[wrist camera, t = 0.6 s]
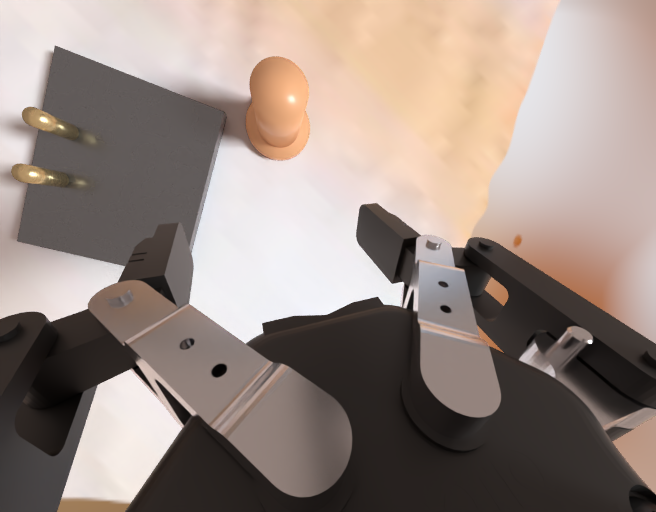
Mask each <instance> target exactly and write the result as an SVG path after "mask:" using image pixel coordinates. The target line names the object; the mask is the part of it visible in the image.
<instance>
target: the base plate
mask: <svg viewBox="0 0 656 512" xmlns="http://www.w3.org/2000/svg"><path fill="white" fill-rule="evenodd" d="M22 118H23V120H24V121H25V122H26V123H27V124H28V125H30V126H33V127H36V128H38V129H39V131H38V136H37V141H36V147H35V152H34V157H33V162H32V166H31V165H26V164H16V165H14V166H13V167H12V170H11V173H12V175H13V177H14V178H15V179H16V180H18V181H20V182H25V183H28V188H27V193H26V198H25V203H24V208H23V214H22V219H21V224H20V229H19V234H18V239H17V241H18V242H23V243H27V244H31V245H36V246H40V247H45V248H49V249H53V250H58V251H62V252H66V253H71V254H75V255H80V256H84V257H88V258H93V259H97V260H101V261H106V262H110V263H114V264H119V265H123V266H126V264H127V263H129V262H128V260H129V258H130V256H132V252H133V250H134V248H135V246H136V245H137V244H139V243H140V242H141V241H143V240H144V239H145V238H152V237H153V236H154V234H155V231H156V229H157V227H158V225H159V224H169V223H179V222H180V223H181V224H182V226H183V229H184V232H185V235H186V239H187V242H188V245H189V248H190V251H191V252H192V248H193V245H194V241H195V237H196V233H197V229H198V225H199V221H200V218H201V214H202V210H203V206H204V202H205V198H206V195H207V191H208V187H209V183H210V179H211V175H212V171H213V168H214V164H215V160H216V156H217V152H218V148H219V144H220V141H221V137H222V133H223V129H224V125H225V121H226V118H227V117H226V115H225V113H224V112H223V111H220V110H218V109H215V108H213V107H210V106H208V105H205V104H203V103H200V102H197V101H195V100H192V99H190V98H187V97H185V96H182V95H180V94H177V93H175V92H172V91H169V90H167V89H164V88H162V87H159V86H157V85H154V84H152V83H149V82H147V81H144V80H141V79H139V78H136V77H134V76H131V75H129V74H126V73H124V72H121V71H119V70H116V69H114V68H111V67H108V66H106V65H103V64H101V63H98V62H96V61H93V60H91V59H88V58H86V57H83V56H80V55H78V54H75V53H73V52H70V51H68V50H65V49H63V48H60V47H58V46H55V48H54V54H53V59H52V64H51V69H50V74H49V79H48V85H47V90H46V95H45V100H44V105H43V110H42V111H41V110H39V109H37V108H34V107H27V108H25V109H24V110H23V112H22Z"/></svg>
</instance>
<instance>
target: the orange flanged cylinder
mask: <svg viewBox="0 0 656 512" xmlns="http://www.w3.org/2000/svg"><path fill="white" fill-rule="evenodd" d="M250 92H251V97H252V103H251V104H250V106H249V108H248V111H247V114H246V129H247V133H248V136H249V139H250V141H251V143H252V144H253V146H254V147H255V148H256V150H258V151H259V152H260V153H261V154H262V155H264V156H265V157H268V158H270V159H273V160H288V159H291V158H293V157H295V156H297V155H298V154H299V153H300V152H301V151H302V150H303V149H304V147H305V145H306V143H307V141H308V138H309V133H310V124H309V119H308V116H307V113H306V111H305V109H306V106H307V102H308V98H309V87H308V83H307V80H306V77H305V75H304V73H303V72H302V70H301V69H300V68H299V67H298V66H297V65H296V64H295V63H293V62H292V61H290V60H288V59H286V58H283V57H269V58H266V59H264V60H262V61H261V62H259V63H258V64H257V65H256V66H255V68H254V69H253V71H252V74H251V77H250Z"/></svg>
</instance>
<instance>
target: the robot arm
mask: <svg viewBox="0 0 656 512" xmlns="http://www.w3.org/2000/svg"><path fill="white" fill-rule="evenodd" d="M356 237H357V241H358V244H359V245H360V246H361V247H362V249H363V250H364V251H365V252H366V253H367V255H368V256H369V257H370V258H371V259H372V260H373V262H374V263H375V264H376V265H377V266H378V268H379V269H380V270H381V271H382V272H383V274H384V275H385V276H386V277H387V278H388V279H389V281H390V282H391V283H392V284H393V283H398V282H404V284H403V288H402V295H401V305H400V307H399V306H393V305H383V303H382V302H381V300H380V299H379V298H378V297H375V298H371V299H366V300H362V301H358V302H353V303H351V304H349V305H347V306H345V307H343V308H341V309H339V310H337V311H334V312H332V313H330V314H328V315H314V316H292V317H287V318H283V319H279V320H274V321H270V322H266V323H262V325H263V332H264V333H263V334H261V335H259V336H257V337H255V338H253V339H252V340H250V341H249V342H248V343H246V344H245V343H244V342H242V341H241V340H239V339H238V338H236V337H235V336H234V335H232V334H231V333H229V332H228V331H227V330H225V329H224V328H222V327H221V326H220V325H218V324H217V323H215V322H214V321H213V320H211V319H210V318H208V317H207V316H205V315H204V314H203V313H201V312H200V311H198V310H197V309H196V308H194V307H193V306H191V305H190V304H189V299H190V291H191V284H192V276H193V259H192V255H191V251H190V248H189V245H188V242H187V239H186V235H185V232H184V229H183V226H182V224H181V223H180V222H179V223H169V224H159V225H158V227H157V229H156V231H155V234H154V236H153V237H152V238H145V239H144V240H143V241H141V242H140V243H139V244H137V245H136V246H135V248H134V250H133V252H132V256H130V258H129V260H128V262H129V263H127V264H126V266H125V269H124V271H123V273H122V275H121V277H120V279H119V281H118V283H115V284H112V285H110V286H108V287H106V288H104V289H102V290H101V291H99V292H98V293H96V294H95V295H94V296H93V297H92V298H91V299H90V301H89V303H88V309H87V310H84V311H81V312H79V313H76V314H73V315H70V316H67V317H64V318H61V319H58V320H55V321H53V322H50V321H49V320H48V319H47V317H46V316H45V315H44V314H42V313H39V312H24V313H19V314H15V315H11V316H8V317H5V318H2V319H0V512H57V510H58V506H59V504H60V500H61V497H62V494H63V491H64V488H65V485H66V482H67V479H68V476H69V472H70V469H71V466H72V463H73V460H74V457H75V454H76V451H77V448H78V444H79V441H80V438H81V435H82V432H83V429H84V426H85V423H86V419H87V416H88V413H89V410H90V407H91V404H92V401H93V398H94V395H95V391H96V388H97V385H98V384H100V383H102V382H104V381H106V380H108V379H111V378H113V377H115V376H117V375H119V374H121V373H123V372H125V371H127V370H129V369H131V371H132V372H133V373H134V374H135V375H136V376H137V377H138V378H139V379H140V380H141V381H142V382H143V384H144V385H145V386H146V387H147V388H148V389H149V390H150V391H151V392H152V393H153V394H154V395H155V396H156V398H157V399H158V400H159V401H160V402H161V403H162V404H163V405H164V406H165V408H166V409H167V410H168V411H169V413H170V414H171V415H172V417H173V418H174V419H175V420H176V421H177V423H178V424H179V425H180V426H181V427H182V430H181V431H180V433H179V434H178V436H177V437H176V439H175V440H174V441H173V443H172V444H171V446H170V447H169V449H168V450H167V452H166V453H165V455H164V456H163V457H162V459H161V460H160V462H159V463H158V465H157V466H156V468H155V469H154V470H153V472H152V473H151V475H150V476H149V478H148V479H147V481H146V482H145V484H144V485H143V486H142V488H141V489H140V491H139V492H138V494H137V495H136V497H135V498H134V500H133V501H132V502H131V504H130V506H129V507H128V508H127V510H126V511H125V512H656V495H655V494H654V493H653V492H652V491H651V489H650V488H649V487H648V486H647V485H646V484H645V483H644V482H643V480H642V479H641V478H640V477H639V476H638V475H637V473H636V472H635V471H634V470H633V469H632V467H631V466H630V465H629V464H628V462H627V461H626V460H625V459H624V457H623V456H622V455H621V453H620V452H619V451H618V449H617V448H616V447H615V445H614V444H613V442H612V441H614V440H616V439H617V438H619V437H621V436H623V435H624V434H626V433H628V432H629V431H631V430H633V429H635V428H636V427H638V426H640V425H641V424H643V423H645V422H647V421H648V420H650V419H652V418H653V417H655V416H656V344H655V343H653V342H652V341H650V340H648V339H647V338H645V337H644V336H642V335H641V334H639V333H638V332H636V331H634V330H633V329H631V328H630V327H628V326H627V325H625V324H624V323H622V322H620V321H619V320H617V319H616V318H614V317H612V316H611V315H609V314H608V313H606V312H605V311H603V310H602V309H600V308H598V307H597V306H595V305H594V304H592V303H591V302H589V301H587V300H586V299H584V298H583V297H581V296H580V295H578V294H576V293H575V292H573V291H572V290H570V289H569V288H567V287H566V286H564V285H562V284H561V283H559V282H558V281H556V280H554V279H553V278H551V277H550V276H548V275H547V274H545V273H544V272H542V271H540V270H539V269H537V268H535V267H534V266H533V265H531V264H529V263H528V262H526V261H525V260H523V259H522V258H520V257H518V256H517V255H515V254H514V253H512V252H511V251H509V250H507V249H506V248H504V247H503V246H501V245H500V244H498V243H496V242H494V241H492V240H489V239H485V238H479V237H474V238H470V239H469V240H468V242H467V244H466V246H465V248H452V247H451V245H450V243H449V242H447V241H446V240H444V239H442V238H440V237H437V236H432V235H422V236H421V235H420V234H418V233H417V232H416V231H415V230H413V229H412V228H411V227H409V226H408V225H407V224H406V223H404V222H403V221H402V220H400V219H399V218H398V217H397V216H395V215H393V214H391V213H388V212H387V211H386V210H385V209H383V208H382V207H381V206H380V205H378V204H377V203H374V204H364V205H361V207H360V209H359V217H358V224H357V232H356ZM491 277H493V278H494V279H495V280H496V281H498V282H499V283H500V284H501V285H503V286H504V287H505V288H506V289H507V291H508V295H509V298H508V300H507V302H506V304H505V305H504V306H503V305H502V304H500V303H499V302H498V301H497V300H496V299H494V298H493V297H492V296H491V295H490V294H489V293H487V292H486V291H485V290H484V289H485V287H486V286H487V284H488V282H489V280H490V278H491ZM477 325H478V326H479V327H480V328H481V329H482V330H483V331H484V332H485V333H486V334H487V335H488V337H489V338H490V339H491V340H492V341H493V342H494V343H495V344H496V345H497V346H498V347H499V348H500V349H501V350H502V351H503V352H504V353H503V352H500V351H499V350H496V349H494V348H492V347H490V346H488V344H487V342H486V341H484V340H482V339H481V338H480V336H479V333H478V329H477Z"/></svg>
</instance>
